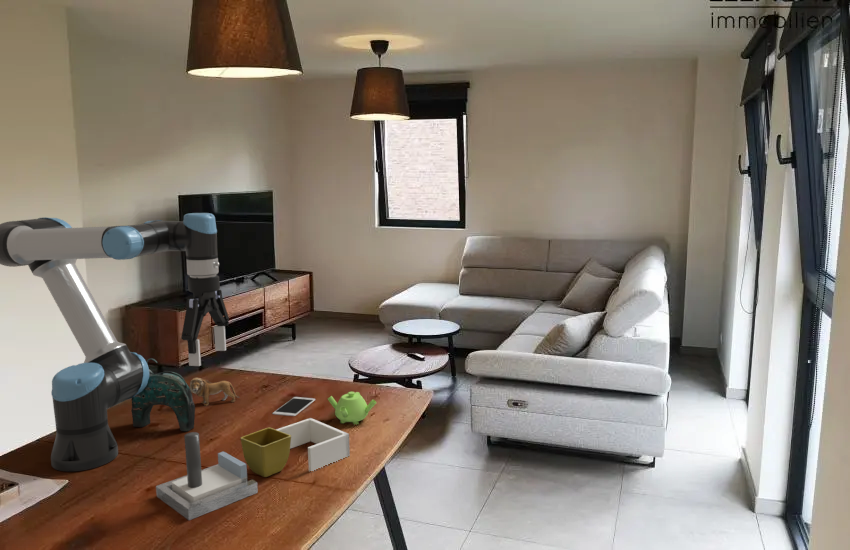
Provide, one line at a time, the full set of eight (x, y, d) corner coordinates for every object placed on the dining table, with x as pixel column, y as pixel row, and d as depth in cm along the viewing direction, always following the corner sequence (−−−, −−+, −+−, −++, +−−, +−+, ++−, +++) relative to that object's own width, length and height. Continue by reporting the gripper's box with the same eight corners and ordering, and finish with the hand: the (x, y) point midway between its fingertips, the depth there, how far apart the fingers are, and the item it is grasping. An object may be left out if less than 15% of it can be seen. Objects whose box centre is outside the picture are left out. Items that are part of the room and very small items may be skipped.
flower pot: (270, 460, 169) (269, 426, 168) (293, 470, 164) (292, 435, 162) (241, 472, 162) (239, 437, 161) (264, 483, 157) (262, 447, 156)
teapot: (362, 410, 203) (361, 383, 201) (378, 423, 193) (377, 395, 191) (326, 417, 197) (326, 389, 196) (341, 431, 188) (340, 401, 186)
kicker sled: (194, 510, 144) (189, 445, 142) (172, 494, 151) (167, 432, 149) (247, 488, 154) (244, 427, 151) (224, 475, 160) (221, 416, 158)
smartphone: (316, 398, 213) (294, 415, 198) (316, 400, 213) (294, 417, 199) (294, 396, 215) (271, 413, 200) (294, 398, 215) (271, 415, 201)
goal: (311, 472, 163) (310, 448, 162) (273, 452, 174) (272, 430, 173) (349, 456, 171) (349, 433, 170) (311, 439, 182) (310, 417, 181)
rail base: (189, 520, 141) (188, 509, 140) (156, 496, 151) (155, 486, 151) (257, 492, 153) (257, 482, 152) (223, 472, 163) (222, 462, 162)
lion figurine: (192, 409, 205) (190, 381, 203) (189, 404, 209) (187, 376, 208) (241, 401, 212) (240, 373, 210) (237, 396, 216) (235, 369, 215)
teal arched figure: (125, 427, 191) (120, 358, 188) (140, 419, 197) (135, 353, 194) (187, 434, 186) (183, 363, 183) (200, 425, 192) (196, 357, 189)
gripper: (192, 284, 156) (197, 373, 159) (239, 267, 180) (243, 345, 183) (162, 283, 157) (168, 371, 160) (213, 267, 181) (217, 344, 185)
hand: (208, 357), depth 172 cm, fingers open, 13 cm apart
